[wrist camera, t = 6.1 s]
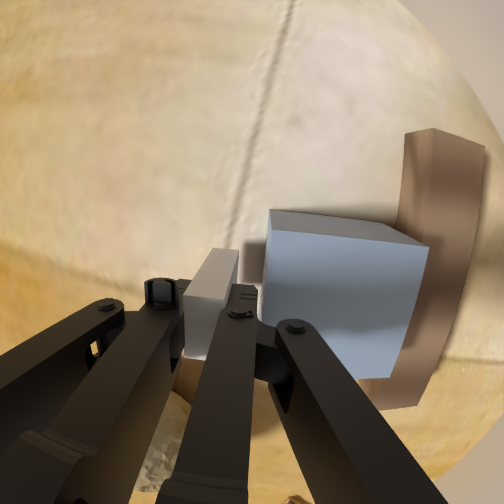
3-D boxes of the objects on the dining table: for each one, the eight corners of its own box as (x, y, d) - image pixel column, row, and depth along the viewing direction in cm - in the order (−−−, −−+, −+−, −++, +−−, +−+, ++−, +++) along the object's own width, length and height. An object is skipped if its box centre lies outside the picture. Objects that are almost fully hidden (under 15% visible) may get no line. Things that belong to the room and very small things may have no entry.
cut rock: (78, 364, 13) (191, 511, 10) (169, 338, 23) (244, 435, 20) (28, 416, 14) (108, 524, 12) (108, 387, 24) (170, 469, 21)
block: (269, 209, 17) (271, 229, 11) (381, 222, 17) (429, 247, 11) (258, 317, 19) (255, 375, 13) (360, 323, 19) (389, 377, 13)
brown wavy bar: (404, 133, 15) (433, 128, 12) (453, 147, 15) (484, 146, 12) (358, 381, 20) (369, 411, 17) (401, 378, 20) (417, 405, 17)
